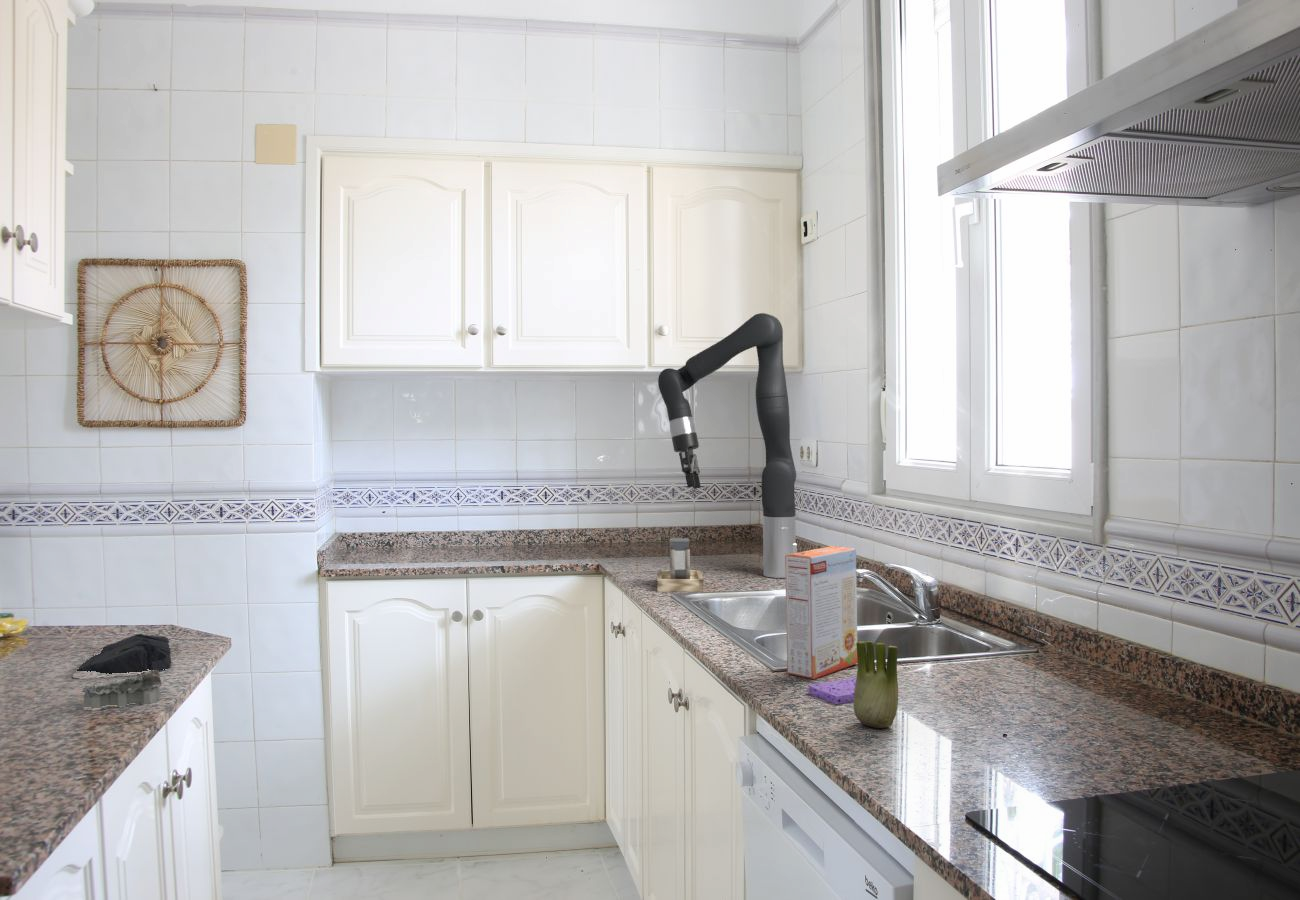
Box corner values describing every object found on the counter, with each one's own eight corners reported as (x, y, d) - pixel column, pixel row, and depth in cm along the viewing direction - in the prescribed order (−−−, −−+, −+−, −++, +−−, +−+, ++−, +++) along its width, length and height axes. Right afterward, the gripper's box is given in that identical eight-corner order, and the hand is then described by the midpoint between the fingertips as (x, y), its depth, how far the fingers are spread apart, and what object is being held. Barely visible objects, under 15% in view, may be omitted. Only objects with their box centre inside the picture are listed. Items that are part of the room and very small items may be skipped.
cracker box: (830, 658, 164) (830, 545, 163) (859, 664, 159) (858, 547, 159) (783, 673, 154) (783, 552, 153) (813, 680, 150) (812, 556, 149)
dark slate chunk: (181, 647, 178) (181, 623, 178) (169, 674, 158) (168, 648, 158) (92, 655, 172) (91, 630, 172) (67, 685, 152) (66, 657, 152)
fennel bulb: (902, 728, 125) (902, 643, 125) (876, 735, 123) (876, 648, 123) (872, 717, 130) (872, 635, 130) (847, 723, 128) (847, 639, 128)
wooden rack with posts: (700, 580, 249) (700, 543, 249) (703, 591, 233) (703, 551, 233) (657, 581, 249) (657, 543, 249) (657, 591, 233) (657, 551, 233)
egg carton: (163, 693, 146) (163, 668, 146) (159, 706, 139) (159, 679, 139) (87, 701, 142) (86, 675, 142) (79, 714, 135) (78, 687, 135)
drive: (688, 578, 244) (688, 538, 244) (689, 582, 237) (689, 541, 237) (670, 578, 245) (669, 538, 244) (670, 582, 237) (670, 541, 237)
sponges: (807, 696, 143) (807, 684, 143) (867, 684, 149) (867, 673, 149) (837, 708, 137) (837, 695, 136) (898, 695, 143) (898, 684, 143)
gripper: (691, 429, 258) (702, 484, 256) (700, 434, 272) (711, 486, 270) (666, 434, 260) (677, 489, 258) (676, 439, 274) (687, 491, 271)
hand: (694, 487), depth 264 cm, fingers open, 8 cm apart
